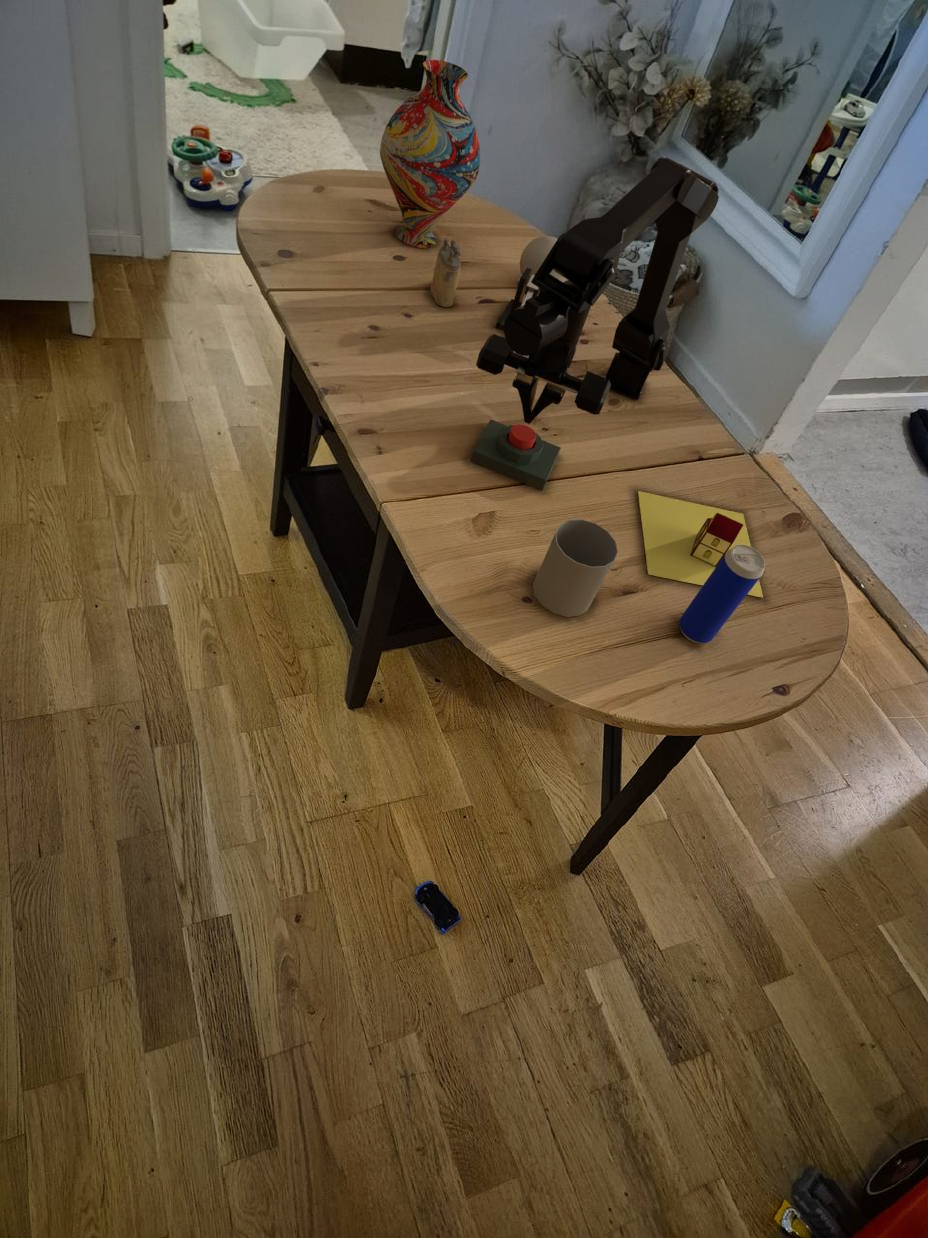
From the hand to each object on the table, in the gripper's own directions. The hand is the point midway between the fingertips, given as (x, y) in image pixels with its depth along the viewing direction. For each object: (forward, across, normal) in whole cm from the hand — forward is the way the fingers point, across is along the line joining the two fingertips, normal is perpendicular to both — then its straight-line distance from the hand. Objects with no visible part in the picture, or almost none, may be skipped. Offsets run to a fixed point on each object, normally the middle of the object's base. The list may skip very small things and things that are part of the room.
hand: (527, 421), depth 119 cm
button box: (+7, 0, 0) cm, 7 cm away
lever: (+3, +10, -35) cm, 37 cm away
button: (+4, 0, 0) cm, 4 cm away
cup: (+8, -14, +23) cm, 28 cm away
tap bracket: (+8, +10, -39) cm, 41 cm away
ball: (+8, +11, -54) cm, 56 cm away
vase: (+8, +38, -55) cm, 67 cm away
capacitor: (+8, +26, -37) cm, 46 cm away
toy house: (+8, -31, +2) cm, 32 cm away
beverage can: (+8, -33, +20) cm, 39 cm away
